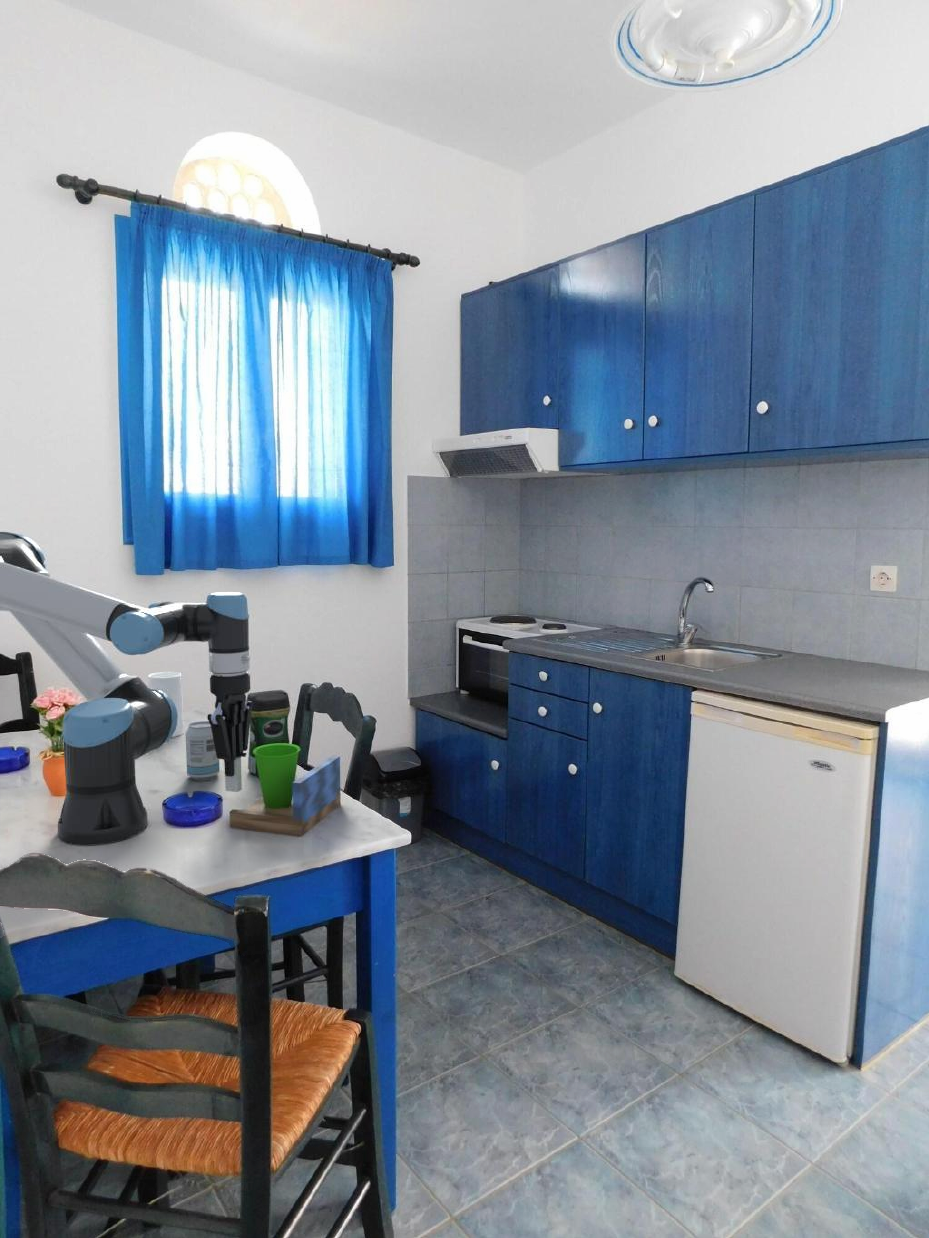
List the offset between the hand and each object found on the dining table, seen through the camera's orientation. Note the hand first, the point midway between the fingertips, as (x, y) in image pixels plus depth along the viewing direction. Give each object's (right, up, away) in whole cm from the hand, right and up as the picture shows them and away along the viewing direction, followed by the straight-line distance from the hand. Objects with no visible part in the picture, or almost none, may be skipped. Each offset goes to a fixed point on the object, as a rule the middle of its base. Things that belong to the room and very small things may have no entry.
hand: (233, 790), depth 159 cm
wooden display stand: (+11, -4, -3) cm, 12 cm away
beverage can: (-13, -2, +20) cm, 24 cm away
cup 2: (+9, -3, -2) cm, 10 cm away
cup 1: (-34, +3, +56) cm, 65 cm away
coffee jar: (+1, -1, +25) cm, 25 cm away
